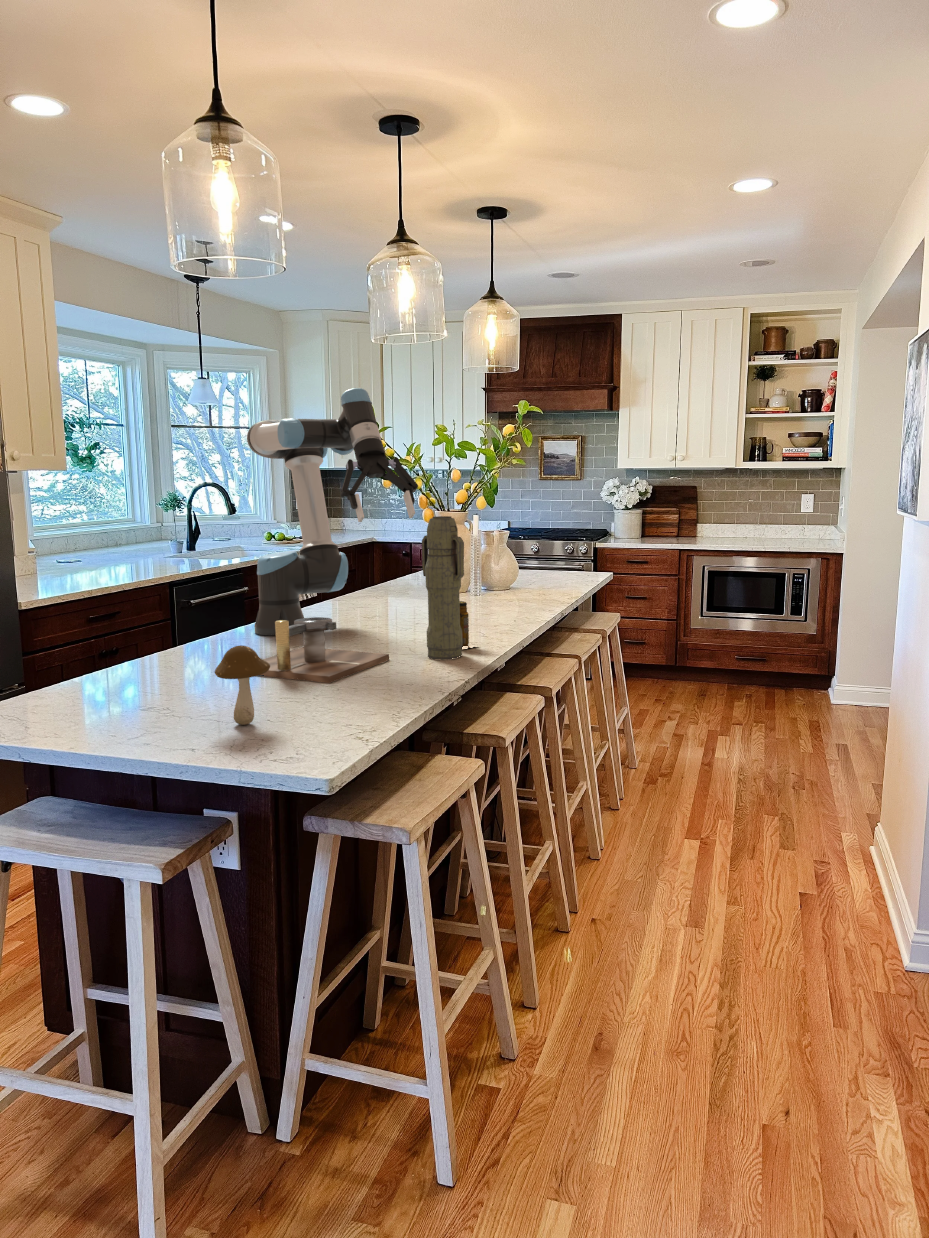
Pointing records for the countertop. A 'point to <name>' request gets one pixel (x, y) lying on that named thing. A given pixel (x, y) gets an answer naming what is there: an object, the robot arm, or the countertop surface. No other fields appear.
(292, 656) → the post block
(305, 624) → the crank handle
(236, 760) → the countertop surface
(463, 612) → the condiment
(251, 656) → the mushroom
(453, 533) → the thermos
